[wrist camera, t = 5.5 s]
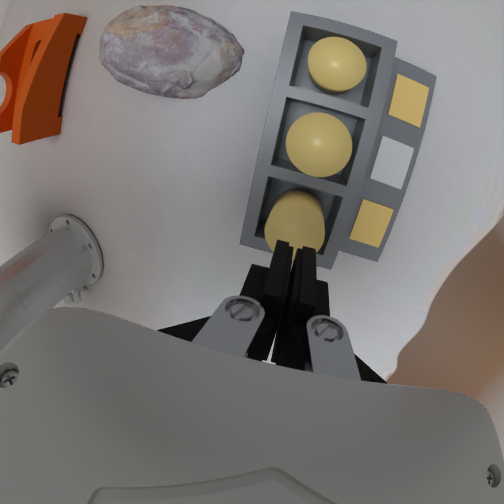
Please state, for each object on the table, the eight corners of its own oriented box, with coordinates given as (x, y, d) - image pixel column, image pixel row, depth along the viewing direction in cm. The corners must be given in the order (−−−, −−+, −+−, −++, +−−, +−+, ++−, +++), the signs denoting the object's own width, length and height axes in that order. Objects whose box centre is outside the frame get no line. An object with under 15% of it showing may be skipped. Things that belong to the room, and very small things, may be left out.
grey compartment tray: (328, 245, 31) (330, 269, 26) (251, 223, 32) (239, 244, 27) (382, 54, 20) (397, 41, 15) (295, 29, 21) (291, 11, 16)
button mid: (336, 172, 23) (342, 185, 19) (285, 157, 24) (279, 167, 19) (349, 123, 21) (359, 123, 17) (297, 108, 21) (293, 104, 17)
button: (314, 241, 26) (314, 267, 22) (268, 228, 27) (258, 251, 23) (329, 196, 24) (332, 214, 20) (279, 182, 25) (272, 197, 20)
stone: (250, 78, 29) (265, 13, 20) (207, 131, 27) (211, 55, 17) (142, 46, 29) (135, -10, 19) (93, 90, 26) (72, 30, 17)
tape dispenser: (62, 133, 31) (19, 144, 24) (21, 124, 32) (-15, 134, 24) (89, 18, 22) (46, 9, 15) (42, 26, 23) (5, 24, 16)
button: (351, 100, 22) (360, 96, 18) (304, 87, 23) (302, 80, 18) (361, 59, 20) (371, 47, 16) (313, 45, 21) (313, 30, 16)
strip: (376, 259, 30) (378, 263, 30) (337, 247, 31) (337, 251, 30) (434, 76, 20) (437, 75, 19) (391, 57, 20) (394, 55, 19)
